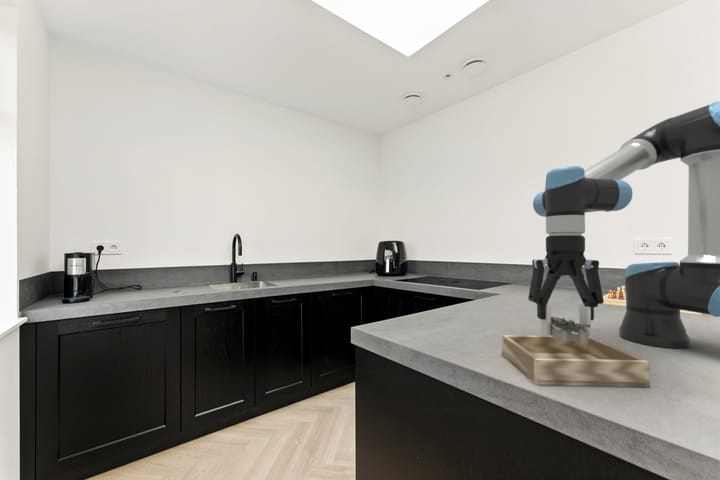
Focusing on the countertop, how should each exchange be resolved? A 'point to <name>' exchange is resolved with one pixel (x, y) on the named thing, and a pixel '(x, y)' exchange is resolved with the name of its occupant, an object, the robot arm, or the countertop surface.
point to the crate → (574, 362)
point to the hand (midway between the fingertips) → (565, 333)
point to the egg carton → (569, 330)
